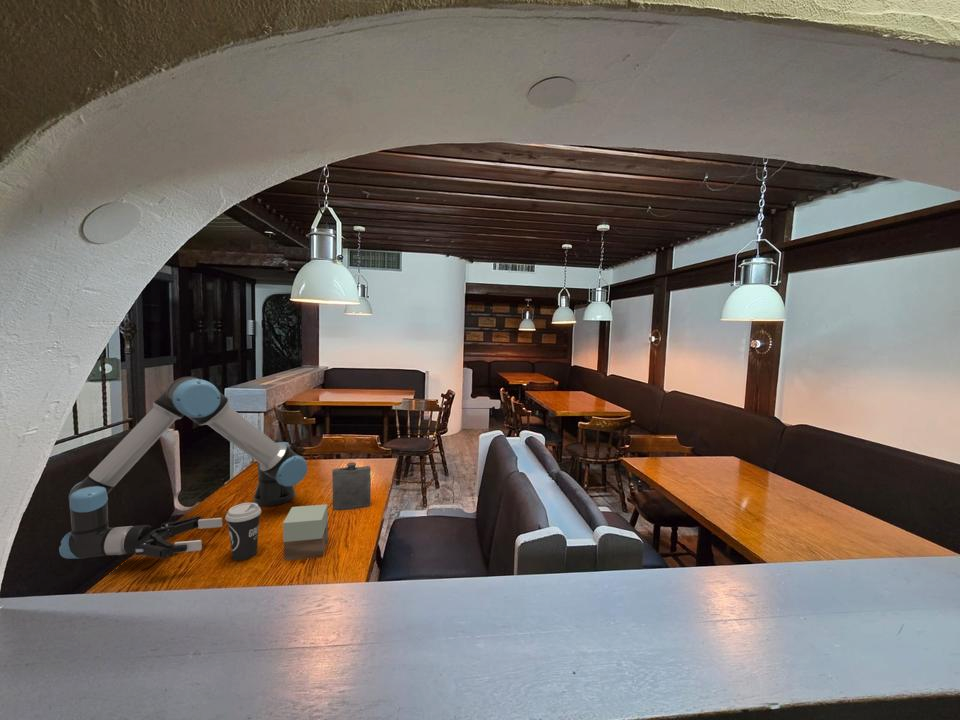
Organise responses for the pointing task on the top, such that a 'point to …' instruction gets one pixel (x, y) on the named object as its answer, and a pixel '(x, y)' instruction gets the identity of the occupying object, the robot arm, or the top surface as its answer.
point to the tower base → (306, 548)
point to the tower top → (305, 523)
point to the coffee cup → (243, 530)
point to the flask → (351, 487)
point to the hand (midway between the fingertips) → (212, 533)
